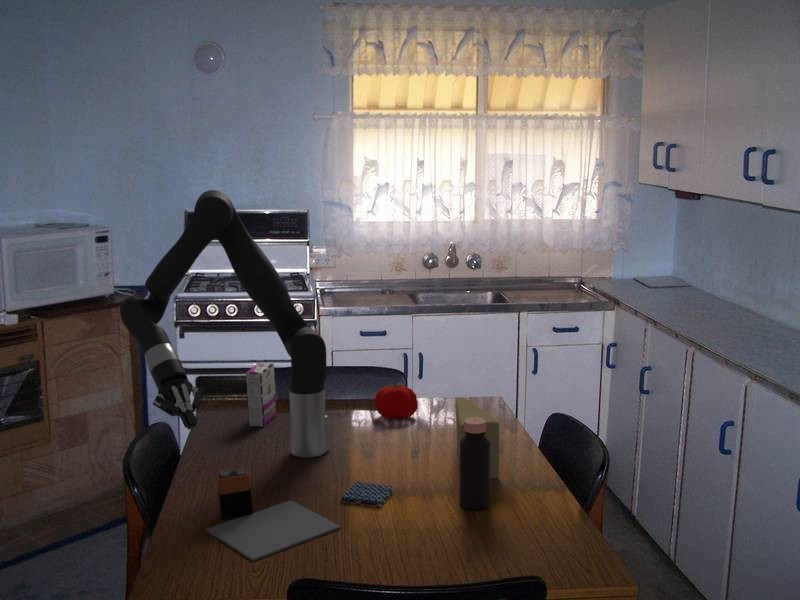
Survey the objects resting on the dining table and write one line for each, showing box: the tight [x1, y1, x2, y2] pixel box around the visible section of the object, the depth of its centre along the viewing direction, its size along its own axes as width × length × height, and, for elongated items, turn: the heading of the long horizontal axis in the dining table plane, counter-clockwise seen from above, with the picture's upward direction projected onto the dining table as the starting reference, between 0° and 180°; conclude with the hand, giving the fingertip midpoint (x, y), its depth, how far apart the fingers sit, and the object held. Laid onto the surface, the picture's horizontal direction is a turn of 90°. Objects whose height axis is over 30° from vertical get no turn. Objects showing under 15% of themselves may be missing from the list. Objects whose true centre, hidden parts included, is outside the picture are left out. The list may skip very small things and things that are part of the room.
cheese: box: [455, 396, 500, 480], centre depth 229 cm, size 22×10×15 cm, turn 10°
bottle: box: [459, 417, 491, 511], centre depth 204 cm, size 7×7×20 cm
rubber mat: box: [205, 499, 341, 562], centre depth 194 cm, size 22×18×1 cm
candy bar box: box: [245, 361, 278, 428], centre depth 263 cm, size 11×5×16 cm, turn 168°
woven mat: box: [339, 480, 395, 508], centre depth 211 cm, size 10×11×2 cm
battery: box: [216, 468, 254, 520], centre depth 201 cm, size 4×7×10 cm, turn 109°
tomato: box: [373, 383, 419, 420], centre depth 266 cm, size 11×13×10 cm
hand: (192, 427), depth 211 cm, fingers closed
